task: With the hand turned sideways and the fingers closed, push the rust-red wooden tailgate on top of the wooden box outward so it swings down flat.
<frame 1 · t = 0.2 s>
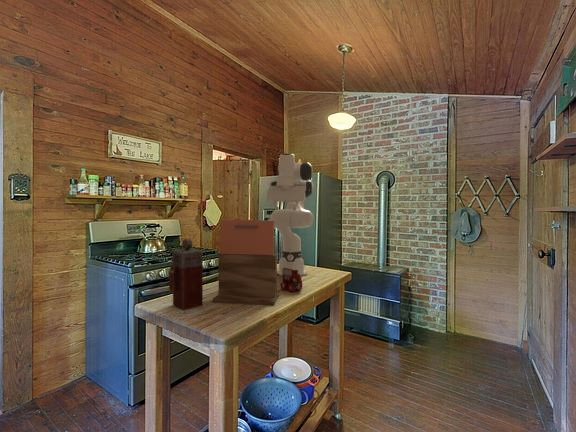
hand: (285, 210, 159), 39 cm above the table, tool pointing down, fingers open, 8 cm apart
dark red lumpy cluster: (291, 290, 152), on the table
wooden box: (246, 299, 137), on the table
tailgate: (246, 237, 136), point 28 cm above the table, hinge at 0.0°
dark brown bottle: (185, 306, 128), on the table
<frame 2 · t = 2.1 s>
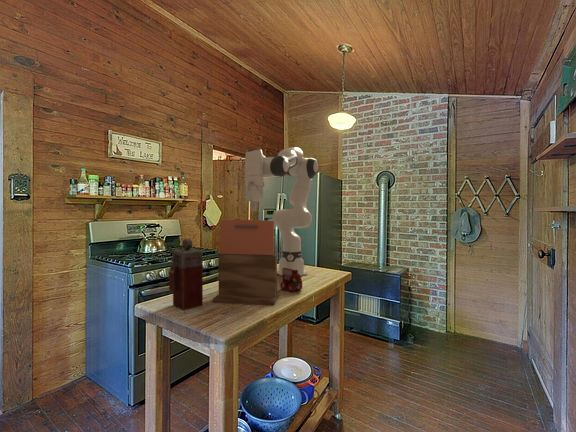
hand: (254, 211, 149), 39 cm above the table, tool pointing down, fingers closed
nothing on the table moved.
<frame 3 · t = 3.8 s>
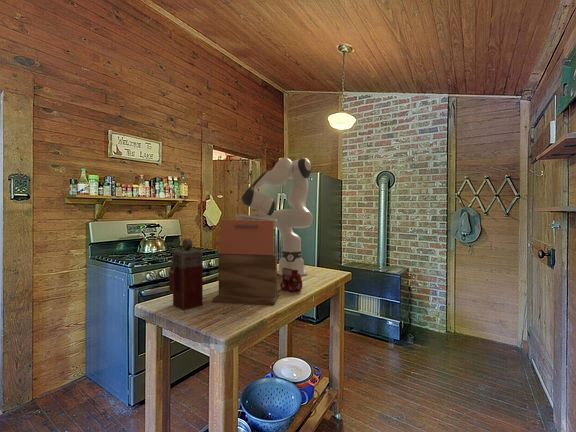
hand: (256, 221, 145), 34 cm above the table, tool horizontal, fingers closed
nothing on the table moved.
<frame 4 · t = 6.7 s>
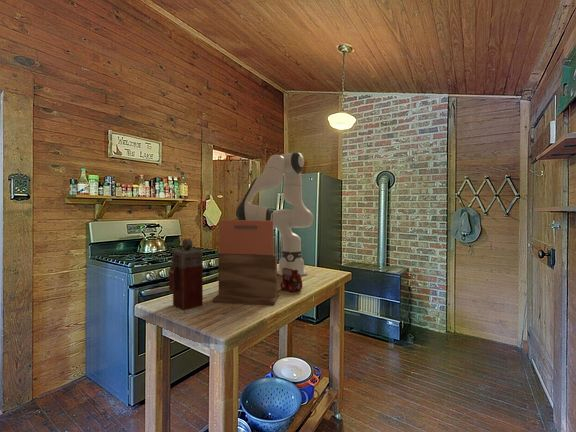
hand: (246, 236, 136), 28 cm above the table, tool horizontal, fingers closed, pressing on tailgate
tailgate: (246, 237, 135), point 28 cm above the table, hinge at 6.3°, touching gripper
everything else where it was.
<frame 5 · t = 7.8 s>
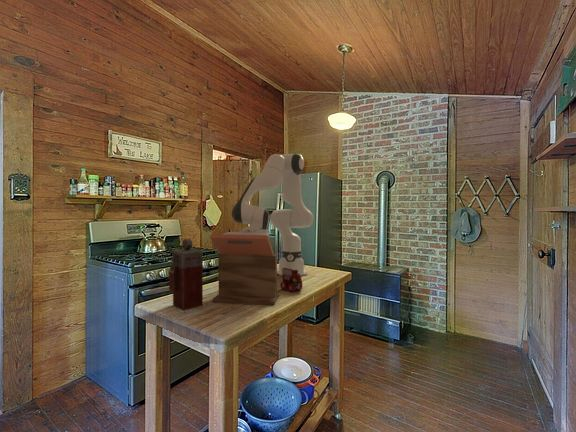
hand: (241, 239, 128), 28 cm above the table, tool horizontal, fingers closed
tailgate: (242, 246, 130), point 25 cm above the table, hinge at 54.5°, touching gripper
everything else where it was.
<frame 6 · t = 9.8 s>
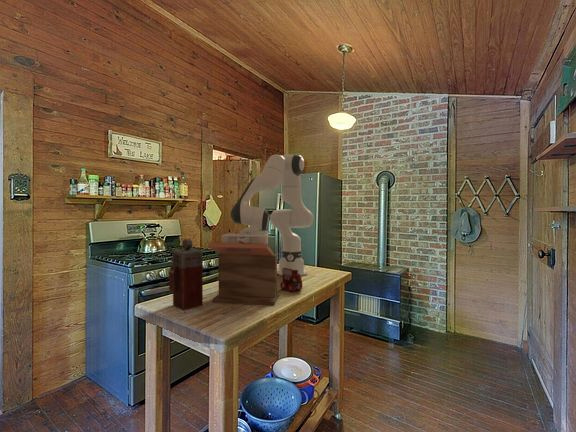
hand: (240, 241, 126), 27 cm above the table, tool horizontal, fingers closed
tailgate: (242, 250, 129), point 23 cm above the table, hinge at 69.2°
everything else where it was.
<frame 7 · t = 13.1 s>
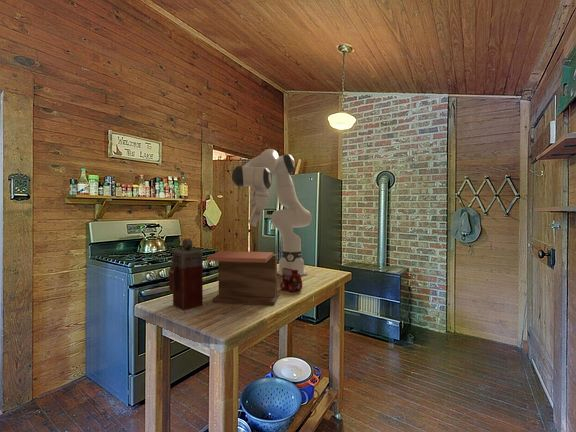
hand: (254, 225, 146), 32 cm above the table, tool tilted 30°, fingers closed
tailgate: (241, 257, 128), point 20 cm above the table, hinge at 90.1°
everything else where it was.
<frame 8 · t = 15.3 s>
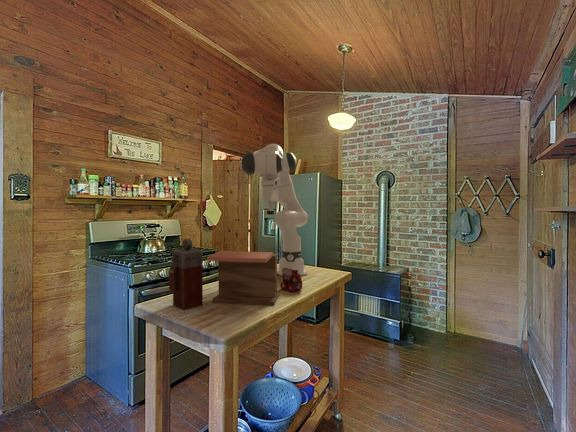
hand: (271, 210, 150), 39 cm above the table, tool pointing down, fingers closed
nothing on the table moved.
at the end: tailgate at +90° (first picture: +0°); dark red lumpy cluster moved 0.3 cm from its start; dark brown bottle moved 0.2 cm from its start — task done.
